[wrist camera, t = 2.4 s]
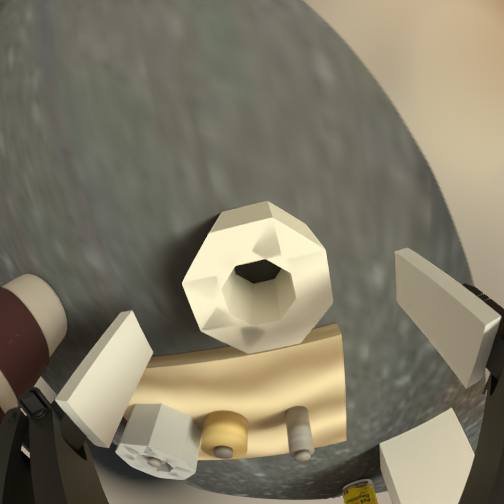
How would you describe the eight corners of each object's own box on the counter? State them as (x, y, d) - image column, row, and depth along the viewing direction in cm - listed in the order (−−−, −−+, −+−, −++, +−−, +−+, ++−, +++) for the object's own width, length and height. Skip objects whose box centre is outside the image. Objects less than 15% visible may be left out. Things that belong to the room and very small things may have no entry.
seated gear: (119, 403, 21) (103, 440, 17) (181, 402, 21) (170, 447, 16) (152, 441, 24) (142, 475, 19) (209, 441, 23) (204, 480, 18)
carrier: (95, 360, 21) (65, 407, 15) (336, 323, 20) (362, 384, 13) (164, 449, 26) (154, 490, 20) (343, 430, 25) (355, 476, 18)
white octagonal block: (190, 220, 17) (167, 244, 12) (299, 193, 16) (317, 206, 12) (221, 314, 19) (213, 359, 15) (318, 292, 19) (336, 333, 14)
